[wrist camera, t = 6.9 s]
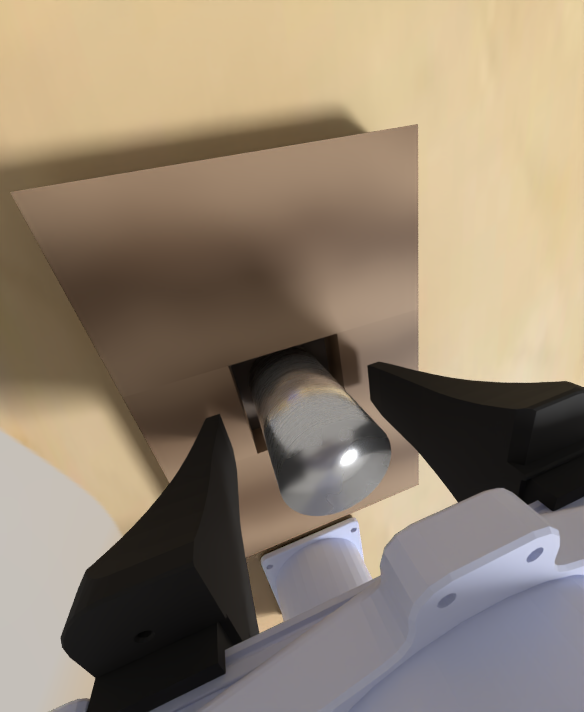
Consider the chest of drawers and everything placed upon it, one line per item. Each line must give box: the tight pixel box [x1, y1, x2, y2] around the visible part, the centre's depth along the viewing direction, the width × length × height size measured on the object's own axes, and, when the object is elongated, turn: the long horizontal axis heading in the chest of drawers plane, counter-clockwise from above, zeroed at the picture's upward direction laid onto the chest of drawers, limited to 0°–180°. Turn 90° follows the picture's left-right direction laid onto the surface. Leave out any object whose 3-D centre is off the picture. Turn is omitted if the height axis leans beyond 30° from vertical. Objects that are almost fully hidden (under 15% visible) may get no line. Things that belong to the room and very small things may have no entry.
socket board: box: [10, 124, 419, 558], centre depth 15 cm, size 20×14×2 cm
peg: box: [249, 346, 391, 516], centre depth 12 cm, size 4×4×7 cm
